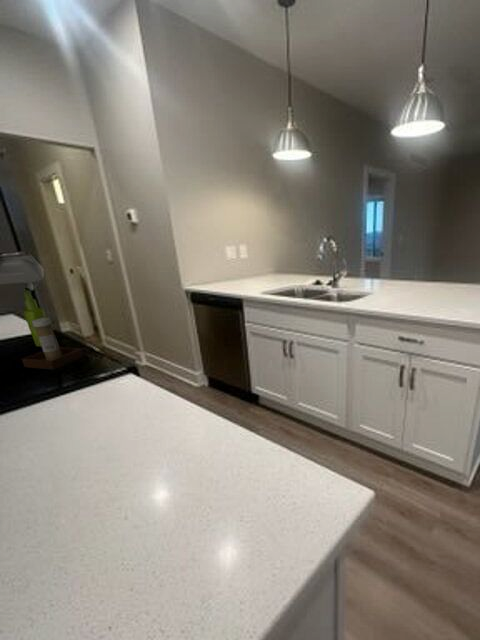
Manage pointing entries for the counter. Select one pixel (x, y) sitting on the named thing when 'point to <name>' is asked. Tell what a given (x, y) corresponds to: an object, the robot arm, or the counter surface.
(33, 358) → the food tray
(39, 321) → the sprinkles bottle
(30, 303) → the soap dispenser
